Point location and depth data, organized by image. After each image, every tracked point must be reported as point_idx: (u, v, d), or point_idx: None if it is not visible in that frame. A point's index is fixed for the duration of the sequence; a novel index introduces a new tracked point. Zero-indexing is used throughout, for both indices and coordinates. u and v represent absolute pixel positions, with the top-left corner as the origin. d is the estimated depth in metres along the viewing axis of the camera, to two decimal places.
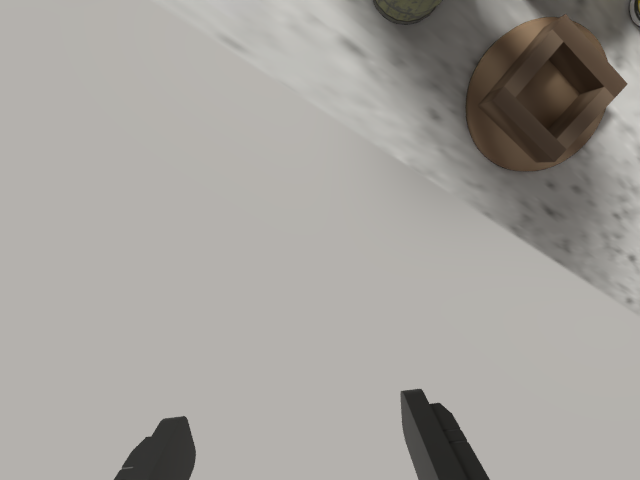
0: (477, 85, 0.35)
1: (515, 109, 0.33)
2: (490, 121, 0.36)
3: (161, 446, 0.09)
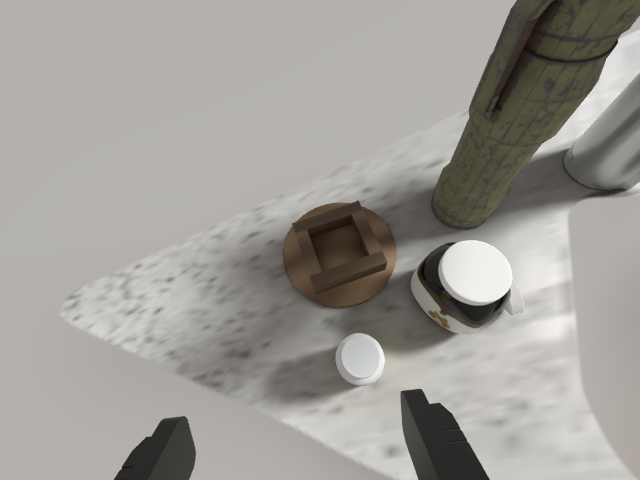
0: (371, 215, 0.46)
1: (343, 211, 0.44)
2: None
3: (161, 446, 0.09)
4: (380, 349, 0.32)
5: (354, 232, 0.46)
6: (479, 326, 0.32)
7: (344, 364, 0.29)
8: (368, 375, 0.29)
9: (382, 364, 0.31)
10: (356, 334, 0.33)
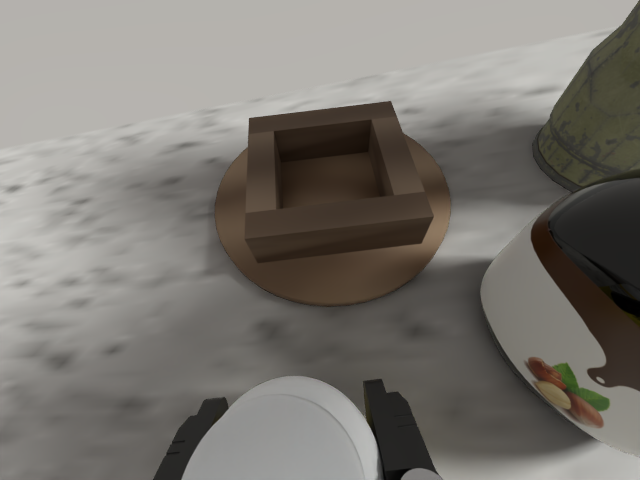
0: (410, 144, 0.24)
1: (356, 113, 0.21)
2: None
3: (208, 423, 0.10)
4: (375, 466, 0.08)
5: (369, 166, 0.23)
6: None
7: None
8: None
9: None
10: (301, 381, 0.09)
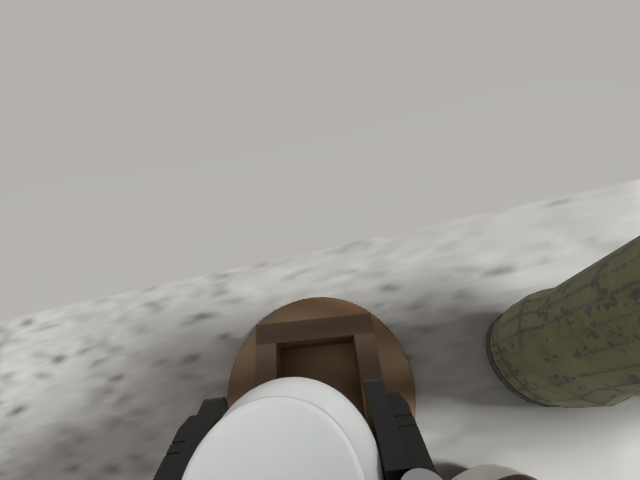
0: (386, 335, 0.29)
1: (342, 326, 0.27)
2: None
3: (208, 423, 0.10)
4: (375, 467, 0.08)
5: (353, 359, 0.28)
6: None
7: None
8: None
9: None
10: (301, 382, 0.09)
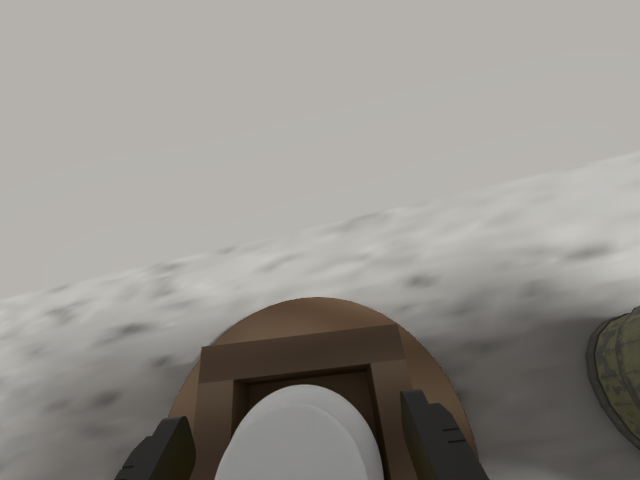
0: (422, 359, 0.18)
1: (349, 347, 0.15)
2: None
3: (162, 446, 0.09)
4: (375, 463, 0.09)
5: (368, 401, 0.17)
6: None
7: None
8: None
9: None
10: (310, 389, 0.11)
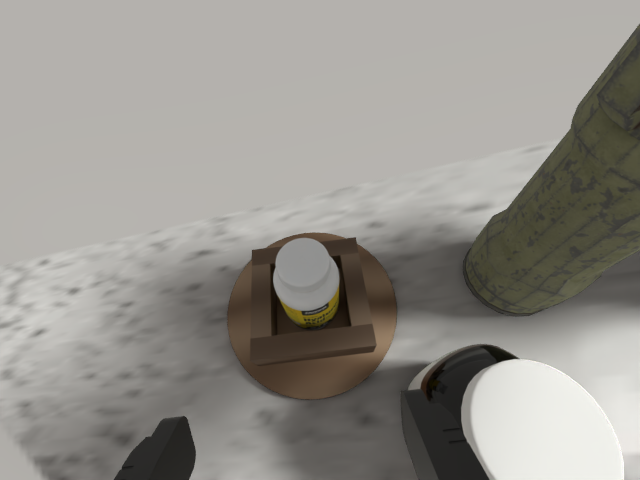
0: (371, 262, 0.32)
1: (330, 248, 0.29)
2: None
3: (161, 446, 0.09)
4: (335, 269, 0.23)
5: (340, 281, 0.31)
6: None
7: (278, 265, 0.21)
8: (305, 284, 0.20)
9: (332, 287, 0.23)
10: None
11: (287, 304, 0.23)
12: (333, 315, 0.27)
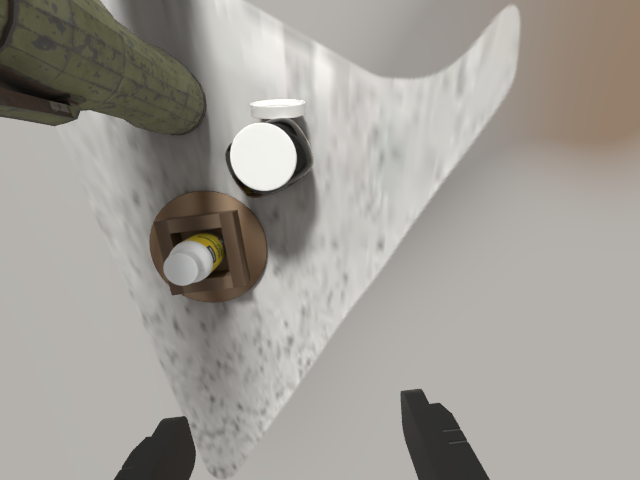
0: (172, 205, 0.42)
1: (165, 240, 0.40)
2: None
3: (161, 446, 0.09)
4: (183, 244, 0.36)
5: None
6: (312, 161, 0.35)
7: (185, 284, 0.34)
8: (196, 267, 0.34)
9: (196, 246, 0.36)
10: None
11: (210, 272, 0.37)
12: (215, 236, 0.41)
